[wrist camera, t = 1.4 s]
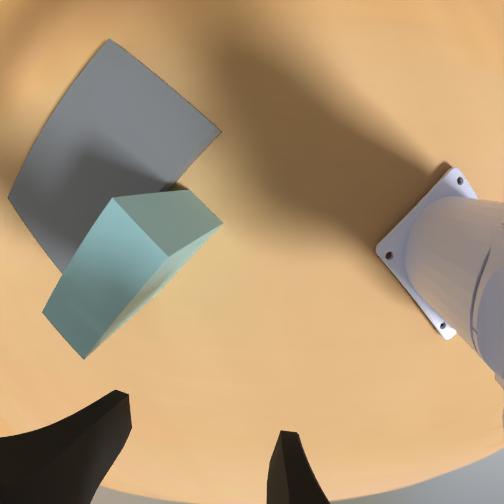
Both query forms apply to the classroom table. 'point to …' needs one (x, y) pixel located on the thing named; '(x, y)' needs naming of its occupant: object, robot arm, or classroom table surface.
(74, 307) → the teal slab
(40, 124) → the classroom table surface
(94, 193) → the rubber pad
